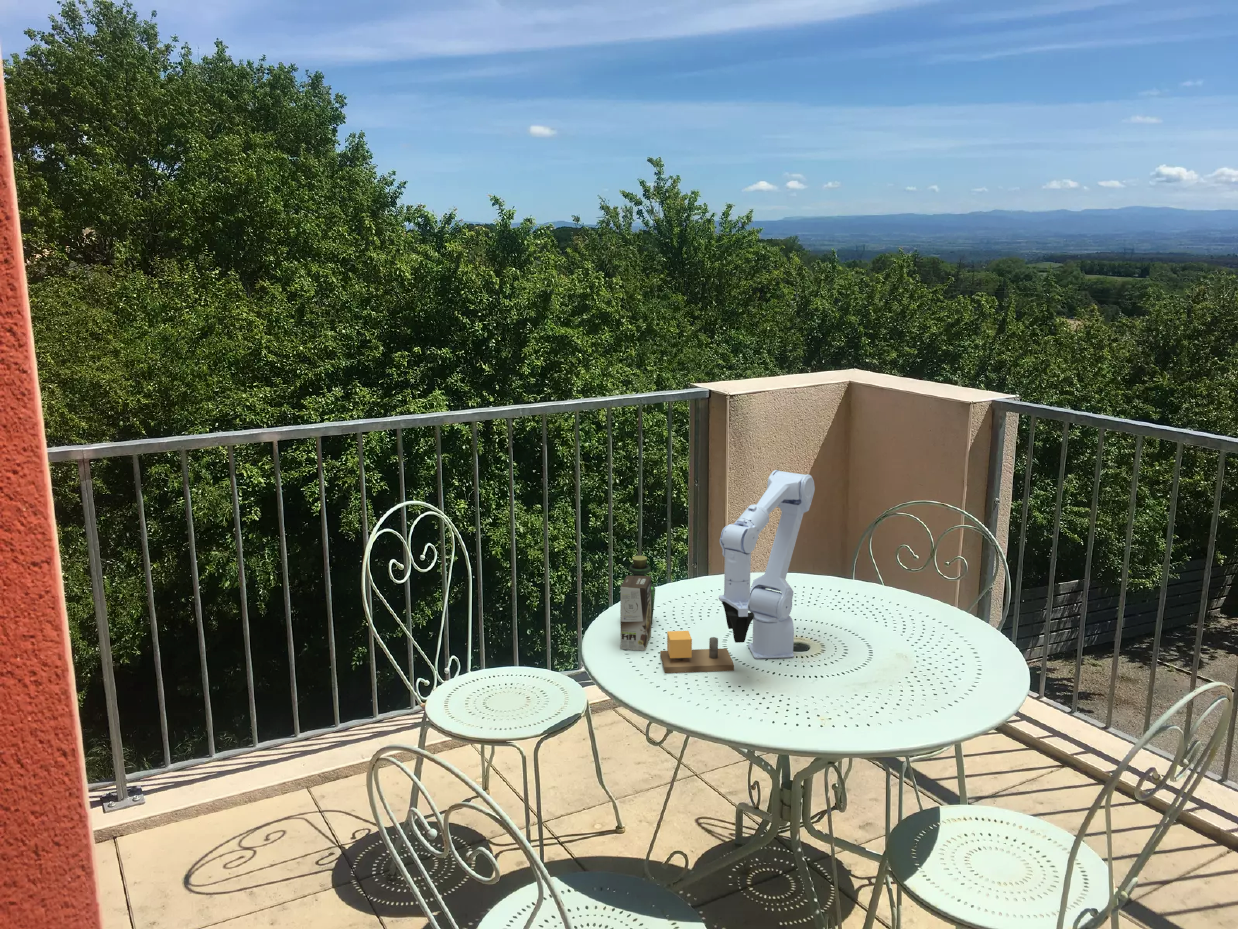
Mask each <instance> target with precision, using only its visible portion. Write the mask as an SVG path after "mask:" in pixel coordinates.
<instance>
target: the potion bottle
mask: <svg viewBox="0 0 1238 929" xmlns="http://www.w3.org/2000/svg"><path fill="white" fill-rule="evenodd" d="M647 560H648V557H647V556H645V555H635V556H632V564H630V566H629V567H628V573H630V574H632V576H648V574H649V573H651V572H652V569H651V566H650V565H649V564H647ZM655 597H656V587H655V586H654V584H653V583H652V582H651V626H652V624H653V620H654V610H655V609H654V608H655Z"/></svg>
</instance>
